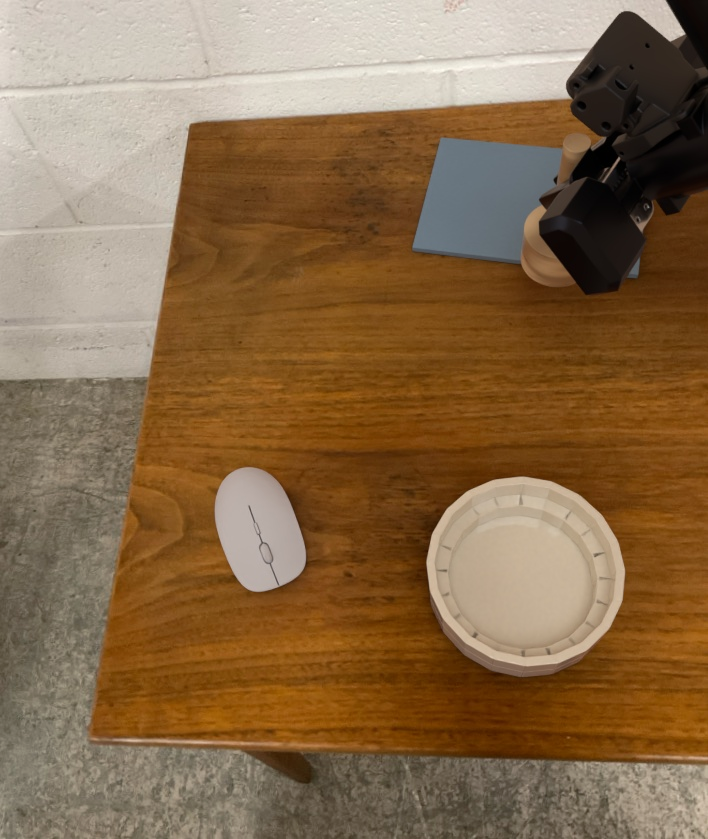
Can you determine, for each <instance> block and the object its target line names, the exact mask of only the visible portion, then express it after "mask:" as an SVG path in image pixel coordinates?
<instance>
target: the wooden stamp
mask: <svg viewBox="0 0 708 839" xmlns="http://www.w3.org/2000/svg"><path fill="white" fill-rule="evenodd" d="M591 147H592V139H591V137H589V136H588V135H587V134H585V133H582V132H573V133H570V134H568V135H566V136H565V138H563V142H562V147H561V149H562V154H561V161H560V167H559V173H558V179H557V186H558V185H559V184H561V183H563V182H565V181H567V180H568V179H569V177H570V174H571V172H572V171H573V169H574V168H575V167H576V165H577V164H578V162H579V161H580V160H581V158H582V157H583V155H584V154H585V153H586V151H587V150H588V149H589V148H591ZM546 211H547V210H546V209H545V208H544V207H543V205H541V206H539V207H537V208H536V209H535V210H533V211H532V212H531V213H530V215H529V216H528V217H527V219H526V221H525V225H524V232H523V240H522V249H521V264H522V265H521V264H520V265H521V267H522V269H523V271H524V273H525V274H526V275H527V276H528V277H529V278H530V279H531V280H532V281H534V282H536V283H537V284H540V285H543V286H546V287H550V288H566V287H570V286H574V285H577V283H576V282H575V281H574V279H573V278H572V277H571V275H570V274H569V273H568V272H567V270H566V269H565V268H564V266H563V265H562V264H561V262H560V261H559V260H558V259H557V257H556V256H555V255H554V253H553V252H552V251H551V249H550V248H549V247H548V246H547V244H546V243H545V242H544V240H543V239H542V238H541V236H540V235H539V220H540V219H541V218H542V216H543V215H544V213H545V212H546Z"/></svg>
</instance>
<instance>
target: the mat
mask: <svg viewBox="0 0 708 839" xmlns="http://www.w3.org/2000/svg"><path fill="white" fill-rule="evenodd" d="M561 154H562V147H561V148H559V147H550V146H539V145H528V144H516V143H508V142H507V143H506V142H496V141H495V142H494V141H486V140H485V141H484V140H473V139H464V138H463V139H462V138H451V137H442V136H441V137H440V139H439V143H438V147H437V151H436V155H435V158H434V162H433V165H432V170H431V174H430V177H429V182H428V185H427V189H426V193H425V197H424V200H423V203H422V204H423V205H422V207H421V208H422V209H421V212H420V216H419V220H418V224H417V227H416V231H415V234H414V238H413V243H412V247H411V249H412V250H411V251H412V252H416V253H423V254H433V255H440V256H441V255H442V256H448V257H456V258H465V259H471V260H472V259H473V260H481V261H490V262H496V263H497V262H498V263H505V264H515V265H521V266H522V264H521V249H522V240H523V232H524V225H525V221H526V219H527V217H528V216H529V215H530V213H531V212H532V211H533V210H535V209H536V208H537V207H539V206H541V205H542V204H541V203H540V201H539V198H540V197H541V196H542V195H543V194H544V193H546V192H548V191H549V190H551V189H552V188H554V187H556V186H557V185H556V184H555V183H554V181H553V179H554V178H555V176H556V175H557V174H558V173H559V167H560V161H561ZM642 234H643V235H644V229H643V230H642ZM640 264H641V256H640V257H639V259H638V260H637V262H636V264H635V265H634V267H633V268H632V270H631V271H630V273H629V274H628V276H627V278H628V279H638V277H639V273H640ZM627 278H626V279H627Z"/></svg>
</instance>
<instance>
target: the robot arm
mask: <svg viewBox="0 0 708 839" xmlns="http://www.w3.org/2000/svg"><path fill="white" fill-rule="evenodd" d="M664 1H665V2H666V5H667V6H668V8H669V9H670V12H672V14H673V16H674V18H675V19H676V21H677V22H678V24H679V26H680V27H681V29H682V31H683V33H684V34H683V35H681V36H678V37H676V38H675V39H672V40H669V39H668V38H667V37H666V36H664V35H663V34H662V33H661V32H660V31H659V30H657V29H656V28H655V27H654V26H652V25H651V24H650V23H649V22H647V21H646V20H645V19H644V18H643V17H641V16H640V15H639V14H638V13H636V12H633V11H630V10H623V11H621V12H620V13H618V14H617V16H615V18H614V19H613V20H612V21H611V23H610V24H609V25H608V26H607V27H606V29H605V30H604V32H603V33H602V34H601V35H600V37H599V38H598V39H597V41H596V42H595V43H594V44H593V46H592V47H591V48H590V49H589V50H588V52H587V53H586V54H585V56H584V57H583V58H582V60H581V61H580V62H579V64H578V65H577V67H575V69H574V70H573V72H571V74H570V75H569V76H568V78H567V80H566V82H565V90H566V93H567V94H568V96H569V97H570V99H571V100H572V101H571V102H570V103H569V108H570V113H571V114H572V116H573V117H575V118H576V119H577V120H578V121H579V122H580V123H582V124H583V125H584V126H586V127H587V128H588V129H589V130H590V131H592V133H594V134H595V135H596V136H598V137H602V138H601V139H600V140H598V141H597V142H596V143H595V144H594V145H591V148H589V149H588V150H587V151H586V153H585V154H584V155H583V157H582V158H581V160H580V161H579V162H578V164H577V165H576V167H575V168H574V169H573V171H572V172H571V174H570V177H569V179H568V180H567V181H565V182H563V183H561V184H559V185H558V186H556V187H554V188H552V189H551V190H549V191H548V192H546V193H544V194H543V195H542V196H541V197H540V198H539V201H540V203H541V204H542V205H543V207H544V208H545V209H546V210H547V211H546V212H545V213H544V215H543V216H542V218H541V219H540V220H539V235H540V236H541V238H542V239H543V240H544V242H545V243H546V244H547V246H548V247H549V248H550V249H551V251H552V252H553V253H554V255H555V256H556V257H557V259H558V260H559V261H560V262H561V264H562V265H563V266H564V268H565V269H566V270H567V272H568V273H569V274H570V275H571V277H572V278H573V279H574V281H575V282H576V285H577V286H578V287H579V289H580V290H581V291H582V293H583V295H585V296H598V295H603V294H609V293H614V292H615V293H616V292H619V291H620V289H621V287H622V285H623V284H624V282H625V281H626V279H627V276H628V274H629V273H630V271H631V270H632V268H633V267H634V265H635V264H636V262H637V260H638V259H639V257H640V258H641V256H642V254H643V252H644V249H645V246H646V243H647V238H646V236H645V235H644V233H643V234H642V230H643V231H644V229H645V227H646V226H647V224H648V223H649V221H650V219H651V218H652V217H653V215H654V211H655V206H654V201H655V202H656V203H657V205H658V206H659V208H660V210H662V212H663V213H664V215H665V216H672V215H674V214H679V213H681V211H682V210H683V208H684V207H685V205H686V203H687V202H688V200H689V199H690V197H691V196H692V195H696V194H699V193H703V192H706V191H708V0H664ZM557 179H558V174H557V175H556V176H555V178H554V179H553V181H554V183H555V184H556V185H557Z"/></svg>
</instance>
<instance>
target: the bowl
mask: <svg viewBox="0 0 708 839" xmlns="http://www.w3.org/2000/svg"><path fill="white" fill-rule="evenodd" d="M429 542H430V543H429V546H428V552H427V555H426V563H425V564H426V576H427V585H428V593H429V601H430V605H431V609H432V611H433V613H434V616H435V617H436V620H437V621H438V624H439V627H440V629H441V630H442V632H443V634H444V635H445V636H446V637H447V638H448V639H449V640H450V642H451V643H452V644H453V645H454V646H455V647H456V648H457V649H458V650H459V651H460V652H461V654H462V655H463V656H465V657H466V658H469V659H470V660H472V661H473V662H475V663H477V664H479V665H480V666H482V667H483V668H486V669H487V670H489V671H491V672H495V673H500V674H505V675H508V676H513V677H518V678H528V677H537V676H538V677H540V676H549V675H554V674H556V673H558V672H560V671H563V670H564V669H566V668H567V669H568V668H569V667H571V666H573V665H575V664H577V663H579V662H580V661H582V659H584V658H585V657H586V656H587V655H588V654H589V653H590V652H591V651H592V650H593V649H594V648H595V647H596V646H597V645H598V644H599V643H600V642H601V641H602V639H603V638H604V636H605V635H606V634H607V632H609V630H610V629H611V626H612V624H613V623H614V620H615V619H616V616H617V614H618V611H619V610H620V608H621V606H622V603H623V600H624V590H625V580H626V579H625V578H626V567H625V564H624V559H623V555H622V551H621V547H620V543H619V540H618V539H617V537H616V535H615V533H614V532H613V530H612V529H611V527H610V526H609V523H608V522H607V520H606V519H605V517H604V516H603V515H602V514H601V513H600V512H599V510H597V509H596V508H595V507H593V506H592V504H590V502H588V501H587V500H586V499H585V498H584V497H583V496H581V495H580V494H578V493H577V492H575V491H572V490H571V489H568V488H567V487H564V486H563V485H560V484H558V483H556V482H554V481H551V480H546V479H541V478H535V477H529V476H514V477H505V478H498V479H492V480H490V481H487V482H485V483H483V484H481V485H478V486H475V487H474V488H471V489H469V490H467V491H466V492H464V493H463V494H462V495H461V496H460V497H458V498H457V500H455V501H454V502H453V503H452V504H450V505H449V506H448V507H447V508H446V509H445V511H444V512H443V514H442V515H441V518H440V519H439V521H438V523H437V525H436V526H435V528H434V530H433V531H432V534H431V537H430V541H429Z"/></svg>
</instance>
